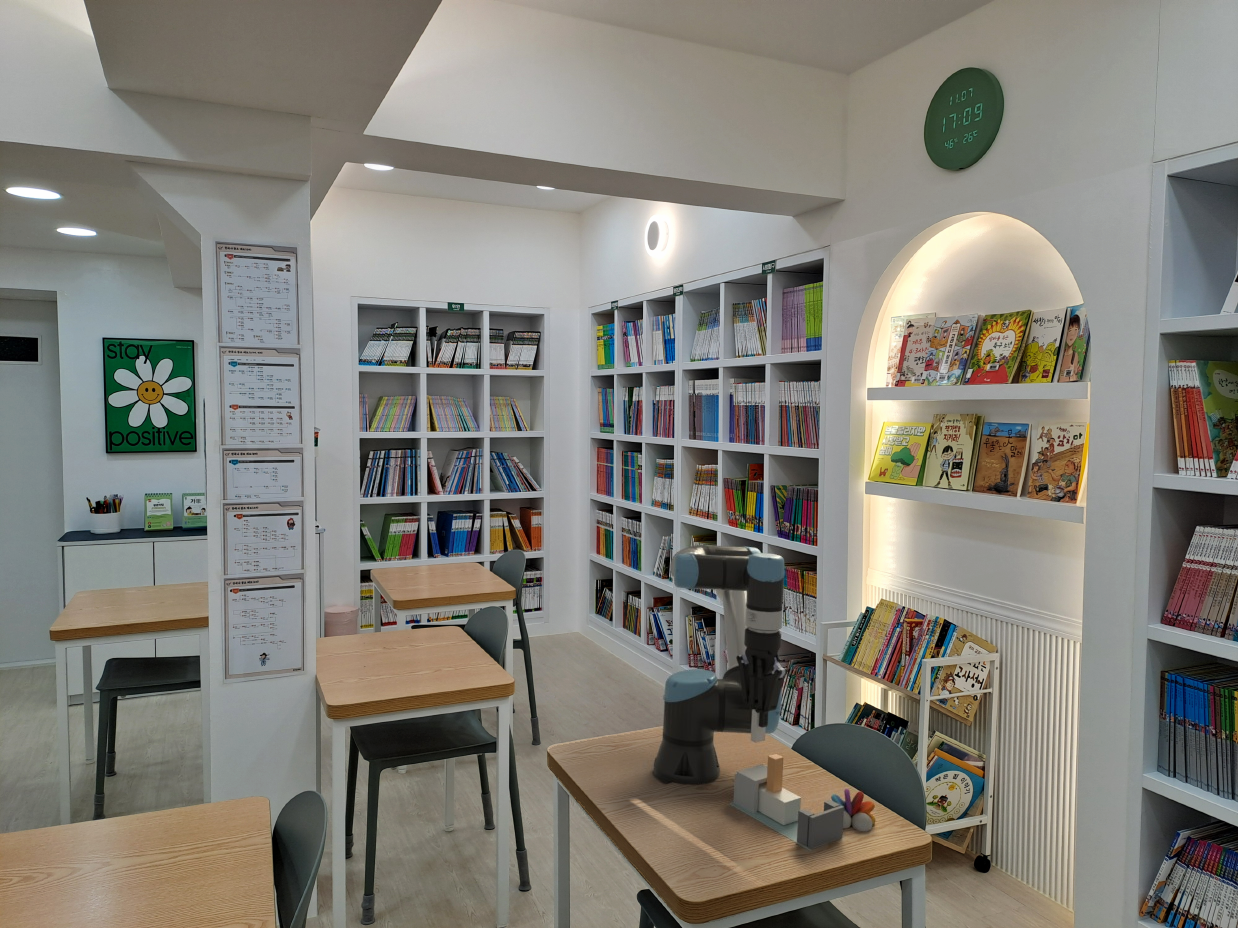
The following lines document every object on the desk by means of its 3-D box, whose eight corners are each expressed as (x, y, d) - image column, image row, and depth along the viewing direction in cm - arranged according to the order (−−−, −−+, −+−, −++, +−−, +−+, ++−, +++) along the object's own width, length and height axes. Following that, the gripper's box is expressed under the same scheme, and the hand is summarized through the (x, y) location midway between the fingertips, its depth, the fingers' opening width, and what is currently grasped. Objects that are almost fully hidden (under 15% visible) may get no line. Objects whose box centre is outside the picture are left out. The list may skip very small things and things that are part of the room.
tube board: (728, 808, 173) (730, 771, 173) (763, 797, 179) (764, 761, 179) (808, 854, 155) (810, 814, 155) (843, 841, 161) (846, 801, 161)
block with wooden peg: (741, 801, 174) (744, 747, 173) (757, 796, 176) (760, 743, 176) (783, 825, 164) (786, 767, 164) (799, 819, 167) (802, 763, 166)
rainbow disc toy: (876, 838, 163) (878, 802, 163) (826, 831, 165) (828, 796, 165) (872, 818, 171) (874, 784, 171) (824, 812, 173) (826, 778, 173)
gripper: (728, 623, 175) (723, 733, 176) (773, 637, 165) (767, 754, 166) (754, 620, 180) (749, 727, 181) (799, 633, 169) (793, 747, 170)
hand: (757, 740), depth 173 cm, fingers closed
